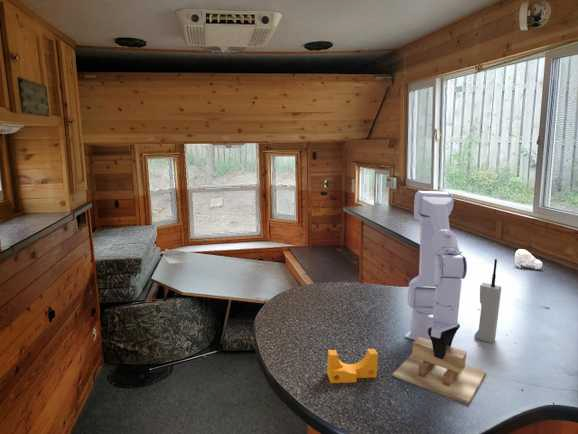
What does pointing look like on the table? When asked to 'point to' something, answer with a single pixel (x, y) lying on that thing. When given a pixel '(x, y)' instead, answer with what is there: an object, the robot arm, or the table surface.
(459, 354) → the oak beam
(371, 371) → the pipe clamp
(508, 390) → the table surface
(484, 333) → the vintage mobile phone
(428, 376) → the rail stand
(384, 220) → the table surface
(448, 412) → the table surface
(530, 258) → the white rough lump
